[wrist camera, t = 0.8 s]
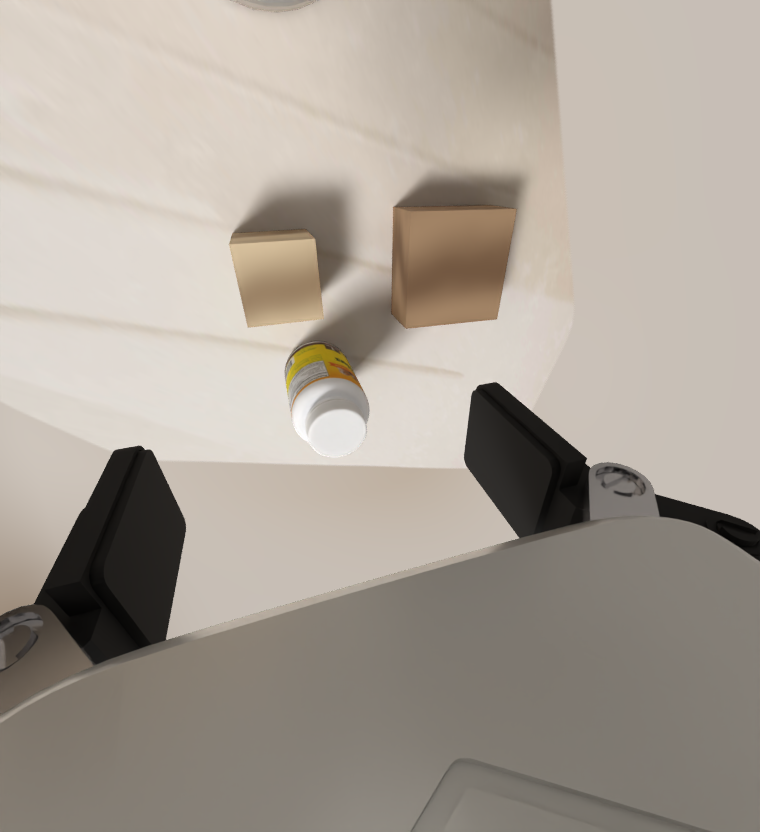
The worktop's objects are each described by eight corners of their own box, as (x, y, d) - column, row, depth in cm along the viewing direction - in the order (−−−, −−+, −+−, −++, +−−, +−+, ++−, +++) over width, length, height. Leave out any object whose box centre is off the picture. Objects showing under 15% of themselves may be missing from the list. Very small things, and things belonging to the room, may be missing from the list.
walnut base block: (392, 206, 28) (410, 211, 24) (487, 204, 29) (516, 208, 26) (390, 312, 32) (405, 328, 29) (473, 305, 34) (496, 319, 31)
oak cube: (232, 233, 26) (229, 244, 22) (305, 228, 27) (315, 238, 23) (248, 305, 28) (247, 327, 24) (313, 298, 29) (323, 318, 25)
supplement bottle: (356, 380, 34) (389, 446, 26) (301, 405, 34) (317, 479, 26) (332, 327, 31) (362, 383, 23) (271, 355, 31) (279, 421, 23)
